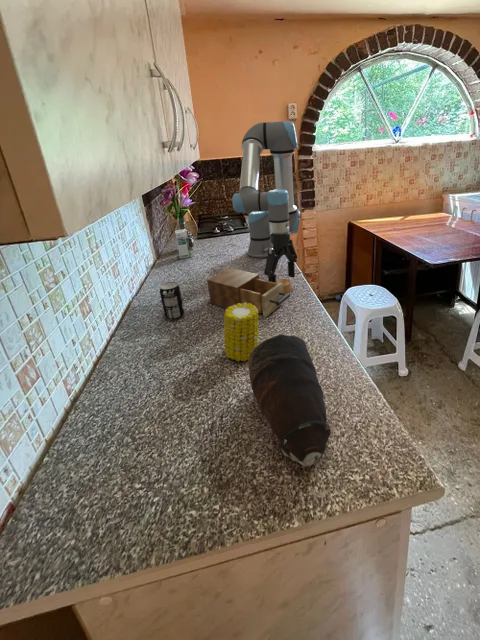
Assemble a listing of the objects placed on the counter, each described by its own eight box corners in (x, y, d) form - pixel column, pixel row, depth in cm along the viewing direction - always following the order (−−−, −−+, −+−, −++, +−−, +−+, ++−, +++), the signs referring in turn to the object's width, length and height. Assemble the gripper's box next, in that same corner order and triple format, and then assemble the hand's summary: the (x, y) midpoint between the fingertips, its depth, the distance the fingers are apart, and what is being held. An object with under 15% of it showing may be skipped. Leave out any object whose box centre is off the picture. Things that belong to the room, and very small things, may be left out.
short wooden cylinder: (280, 285, 129) (280, 277, 128) (294, 288, 125) (293, 280, 124) (272, 291, 124) (271, 283, 122) (285, 295, 120) (285, 287, 119)
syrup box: (179, 259, 165) (175, 232, 160) (179, 255, 170) (174, 230, 165) (191, 257, 166) (186, 231, 161) (190, 253, 172) (185, 228, 167)
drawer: (294, 304, 111) (293, 285, 109) (276, 320, 103) (275, 299, 100) (255, 294, 121) (253, 276, 118) (235, 307, 112) (233, 288, 109)
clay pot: (276, 451, 48) (248, 336, 68) (266, 499, 55) (243, 382, 76) (360, 431, 52) (310, 329, 73) (341, 479, 60) (300, 373, 80)
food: (223, 352, 92) (257, 346, 95) (228, 370, 81) (266, 362, 84) (218, 302, 90) (252, 297, 93) (222, 314, 79) (261, 307, 82)
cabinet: (260, 297, 120) (258, 274, 117) (239, 312, 110) (237, 287, 107) (232, 289, 128) (229, 267, 124) (210, 302, 118) (206, 279, 114)
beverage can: (176, 309, 114) (170, 279, 110) (188, 313, 111) (183, 283, 107) (161, 317, 109) (154, 287, 105) (174, 322, 106) (167, 290, 102)
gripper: (268, 242, 104) (272, 298, 112) (304, 224, 124) (306, 273, 131) (251, 239, 108) (256, 294, 115) (288, 223, 128) (291, 270, 135)
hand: (282, 283), depth 123 cm, fingers open, 13 cm apart
